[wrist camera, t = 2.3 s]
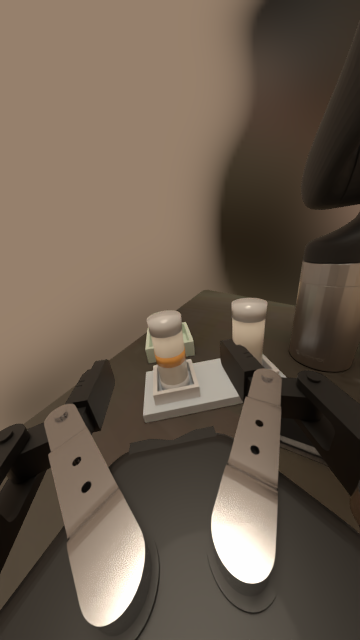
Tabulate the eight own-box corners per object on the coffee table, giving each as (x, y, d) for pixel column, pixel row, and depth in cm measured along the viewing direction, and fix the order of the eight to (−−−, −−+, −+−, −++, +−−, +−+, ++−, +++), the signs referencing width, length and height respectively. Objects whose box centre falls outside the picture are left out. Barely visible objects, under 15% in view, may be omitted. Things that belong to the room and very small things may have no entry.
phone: (491, 524, 13) (265, 436, 20) (482, 530, 13) (264, 442, 20) (425, 428, 19) (270, 387, 26) (420, 434, 19) (269, 393, 27)
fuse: (244, 359, 32) (246, 296, 27) (267, 372, 28) (274, 301, 23) (226, 370, 30) (224, 304, 25) (249, 385, 26) (252, 311, 21)
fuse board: (259, 357, 34) (260, 342, 33) (292, 392, 26) (296, 374, 24) (147, 378, 32) (144, 363, 31) (145, 422, 24) (140, 405, 23)
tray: (187, 333, 46) (185, 322, 45) (195, 355, 37) (193, 341, 36) (150, 340, 46) (147, 328, 44) (148, 363, 36) (145, 349, 35)
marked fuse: (180, 371, 31) (170, 308, 26) (195, 385, 27) (187, 315, 22) (156, 383, 29) (141, 317, 24) (170, 401, 25) (155, 327, 20)
